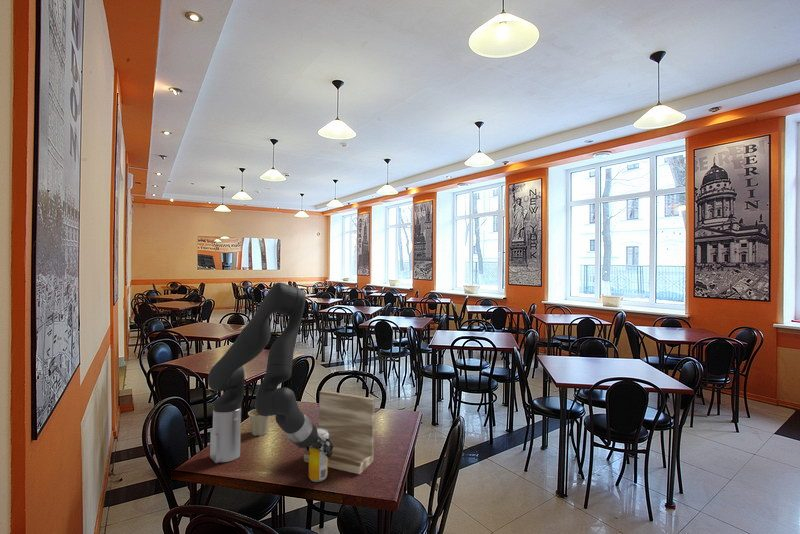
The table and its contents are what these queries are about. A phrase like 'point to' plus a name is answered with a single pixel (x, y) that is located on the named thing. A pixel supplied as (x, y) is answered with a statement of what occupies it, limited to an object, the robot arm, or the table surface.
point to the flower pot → (258, 423)
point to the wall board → (348, 430)
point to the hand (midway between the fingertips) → (321, 452)
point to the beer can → (318, 460)
